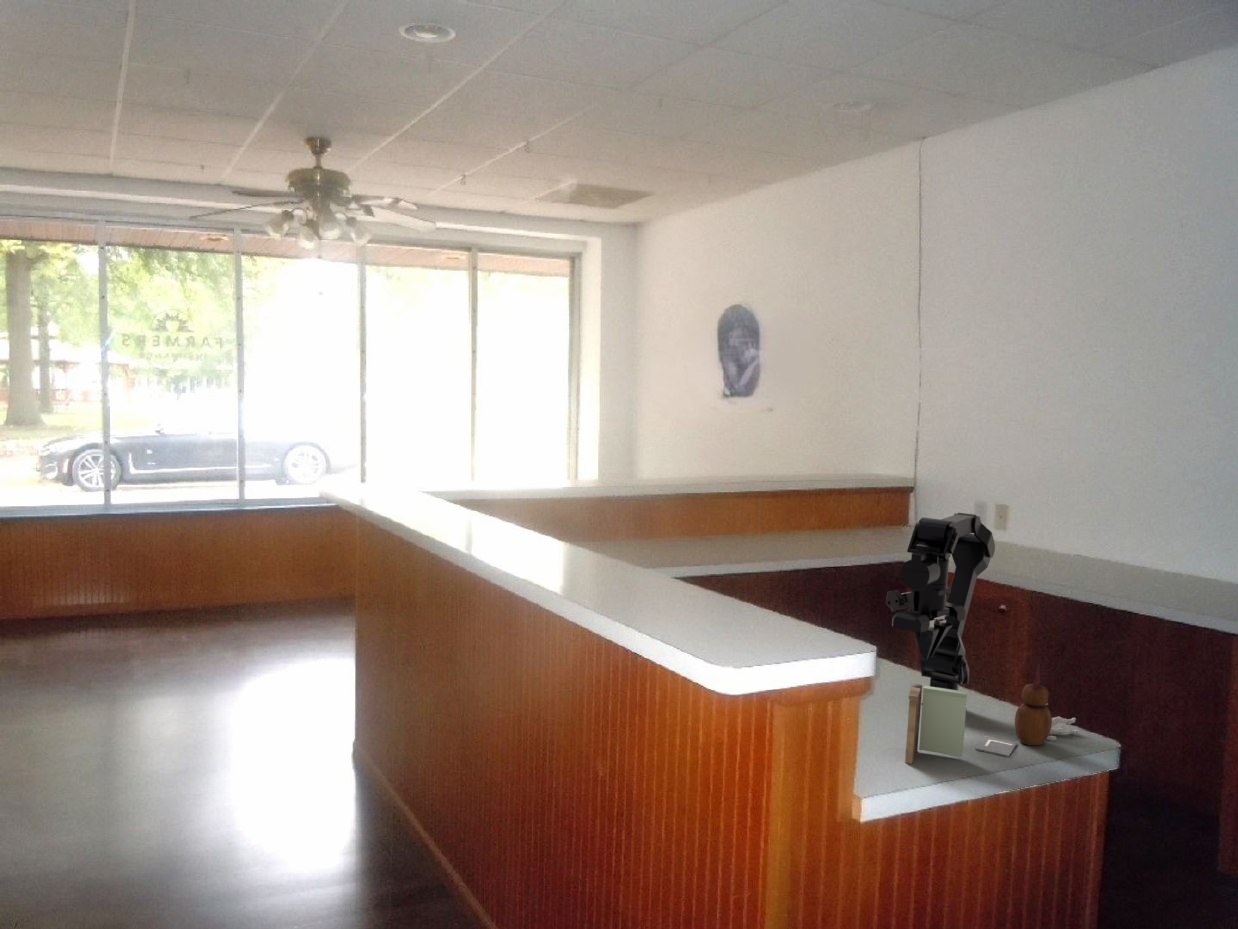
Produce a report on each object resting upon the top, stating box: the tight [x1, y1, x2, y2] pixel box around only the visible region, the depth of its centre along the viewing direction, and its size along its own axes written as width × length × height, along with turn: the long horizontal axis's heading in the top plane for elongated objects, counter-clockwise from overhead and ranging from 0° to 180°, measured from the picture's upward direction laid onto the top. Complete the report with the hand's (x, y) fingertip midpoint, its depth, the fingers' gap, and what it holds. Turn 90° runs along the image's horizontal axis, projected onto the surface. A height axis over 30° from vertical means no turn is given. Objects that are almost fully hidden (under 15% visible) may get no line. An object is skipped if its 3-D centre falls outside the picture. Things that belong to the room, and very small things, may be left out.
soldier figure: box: [1045, 703, 1080, 741], centre depth 197 cm, size 8×5×12 cm
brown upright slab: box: [904, 682, 923, 765], centre depth 182 cm, size 8×2×12 cm, turn 159°
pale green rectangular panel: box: [918, 685, 968, 758], centre depth 183 cm, size 8×2×12 cm, turn 69°
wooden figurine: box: [1014, 663, 1053, 746], centre depth 192 cm, size 7×6×15 cm
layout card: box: [974, 735, 1018, 758], centre depth 189 cm, size 8×6×1 cm
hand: (926, 658), depth 200 cm, fingers closed
